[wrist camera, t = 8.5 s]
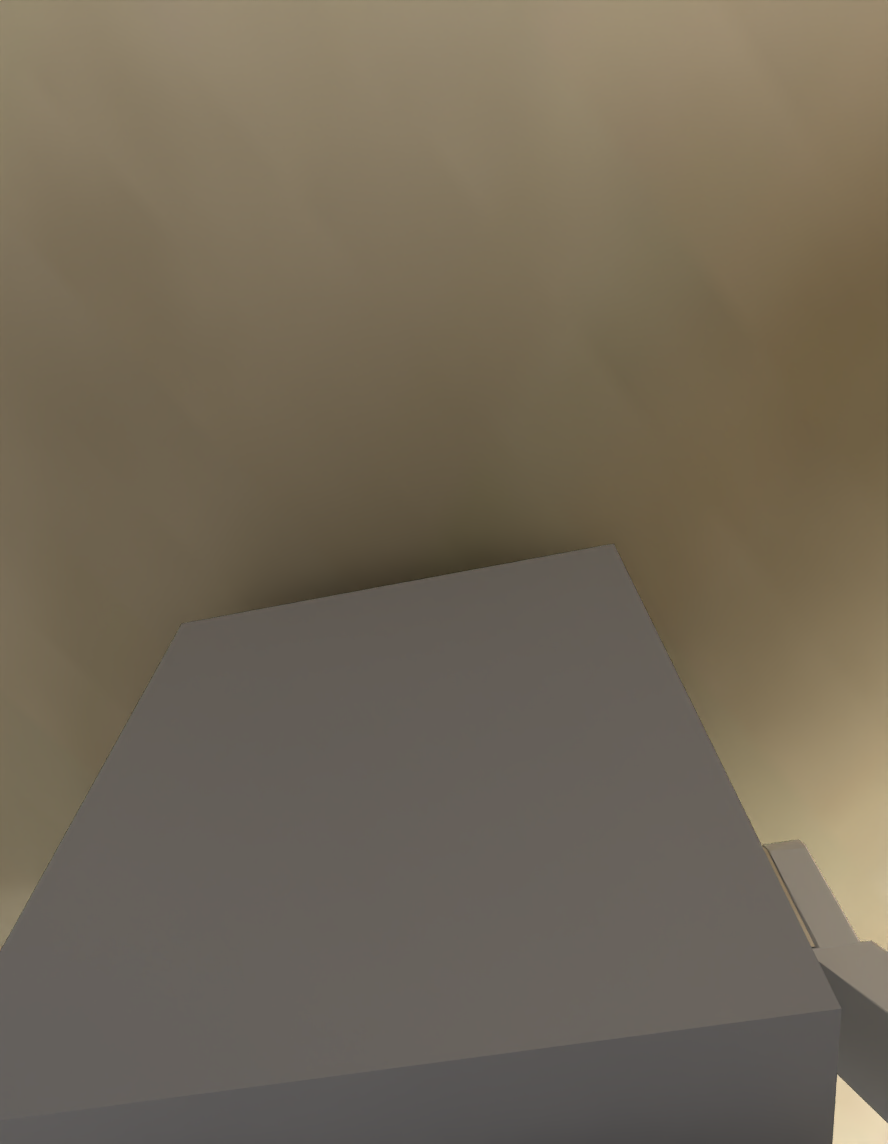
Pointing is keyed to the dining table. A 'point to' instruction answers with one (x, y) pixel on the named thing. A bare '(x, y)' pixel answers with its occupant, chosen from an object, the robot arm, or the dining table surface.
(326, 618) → the matte grey cube
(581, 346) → the dining table surface
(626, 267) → the dining table surface
